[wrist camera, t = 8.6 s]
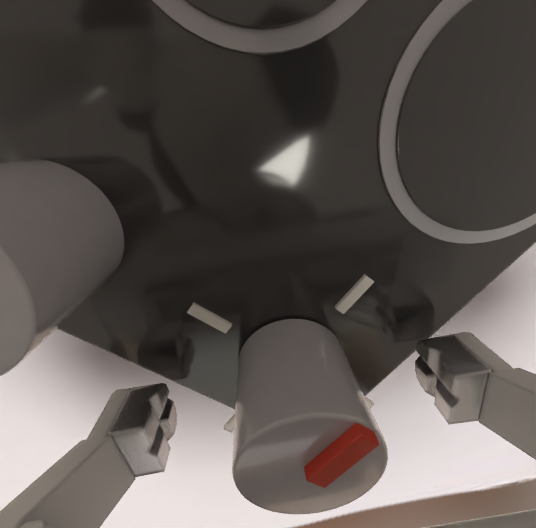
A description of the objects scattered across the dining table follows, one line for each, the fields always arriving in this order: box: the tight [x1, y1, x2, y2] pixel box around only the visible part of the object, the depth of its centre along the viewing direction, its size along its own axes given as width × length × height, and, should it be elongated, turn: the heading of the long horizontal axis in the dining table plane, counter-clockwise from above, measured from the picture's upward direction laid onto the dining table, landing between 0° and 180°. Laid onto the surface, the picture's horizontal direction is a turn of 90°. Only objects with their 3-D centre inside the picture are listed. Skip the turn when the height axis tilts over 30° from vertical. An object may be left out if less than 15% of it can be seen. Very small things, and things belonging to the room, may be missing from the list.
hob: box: [0, 0, 536, 432], centre depth 8 cm, size 19×15×3 cm
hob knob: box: [232, 319, 388, 514], centre depth 8 cm, size 4×4×4 cm
